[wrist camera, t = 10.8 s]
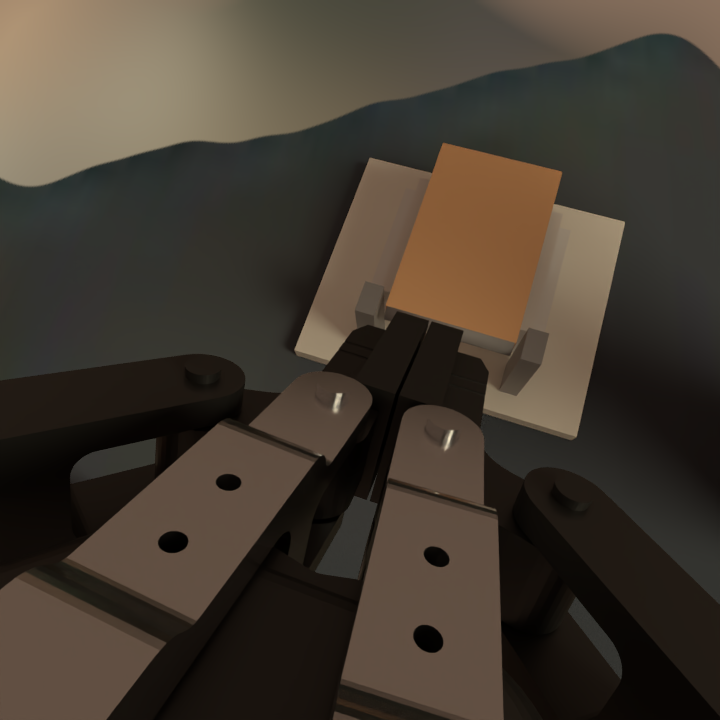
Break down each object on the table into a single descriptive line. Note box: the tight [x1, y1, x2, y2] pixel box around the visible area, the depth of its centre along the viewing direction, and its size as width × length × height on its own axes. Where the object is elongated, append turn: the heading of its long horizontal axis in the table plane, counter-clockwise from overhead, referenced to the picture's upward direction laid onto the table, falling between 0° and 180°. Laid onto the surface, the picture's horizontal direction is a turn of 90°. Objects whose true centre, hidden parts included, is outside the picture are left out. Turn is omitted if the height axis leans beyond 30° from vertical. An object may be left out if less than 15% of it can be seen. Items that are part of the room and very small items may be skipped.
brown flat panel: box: [384, 143, 562, 356], centre depth 37 cm, size 8×1×13 cm
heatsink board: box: [295, 148, 625, 440], centre depth 40 cm, size 20×17×8 cm
